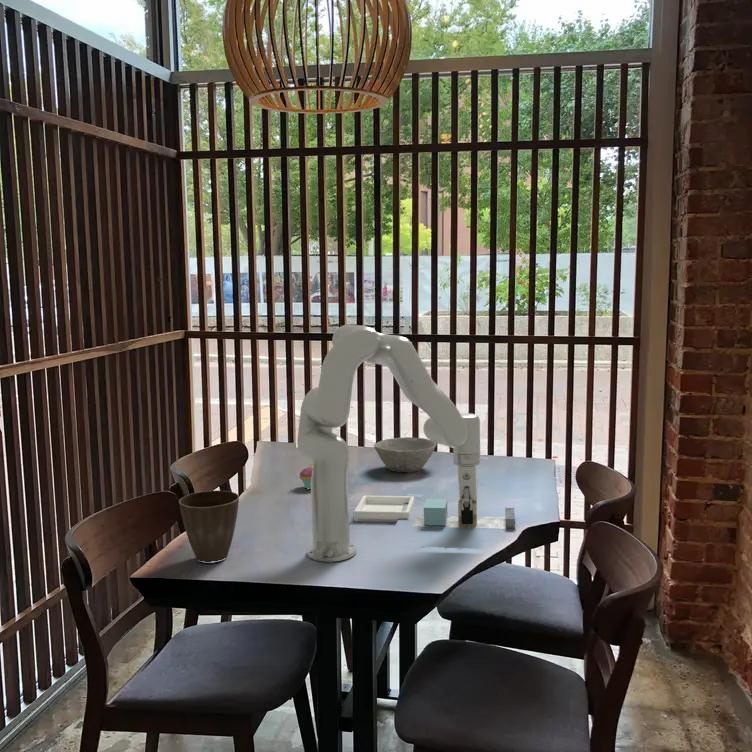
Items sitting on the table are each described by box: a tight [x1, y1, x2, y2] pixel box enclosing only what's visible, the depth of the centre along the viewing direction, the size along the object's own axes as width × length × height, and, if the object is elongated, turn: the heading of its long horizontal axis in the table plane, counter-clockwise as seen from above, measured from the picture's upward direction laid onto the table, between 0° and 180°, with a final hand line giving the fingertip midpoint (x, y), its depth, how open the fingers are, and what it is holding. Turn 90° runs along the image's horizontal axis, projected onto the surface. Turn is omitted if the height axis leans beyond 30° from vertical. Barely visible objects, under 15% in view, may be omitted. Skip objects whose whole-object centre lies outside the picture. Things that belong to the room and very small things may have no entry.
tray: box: [353, 495, 416, 523], centre depth 224 cm, size 16×16×3 cm
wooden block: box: [457, 498, 478, 525], centre depth 210 cm, size 5×5×6 cm
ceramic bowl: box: [373, 437, 438, 473], centre depth 274 cm, size 22×23×10 cm
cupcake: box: [299, 463, 313, 489], centre depth 254 cm, size 9×8×12 cm
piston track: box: [412, 507, 516, 530], centre depth 211 cm, size 10×28×4 cm, turn 81°
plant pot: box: [178, 490, 240, 562], centre depth 191 cm, size 15×15×16 cm
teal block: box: [423, 498, 448, 525], centre depth 212 cm, size 8×6×5 cm
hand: (467, 518), depth 211 cm, fingers open, 7 cm apart
